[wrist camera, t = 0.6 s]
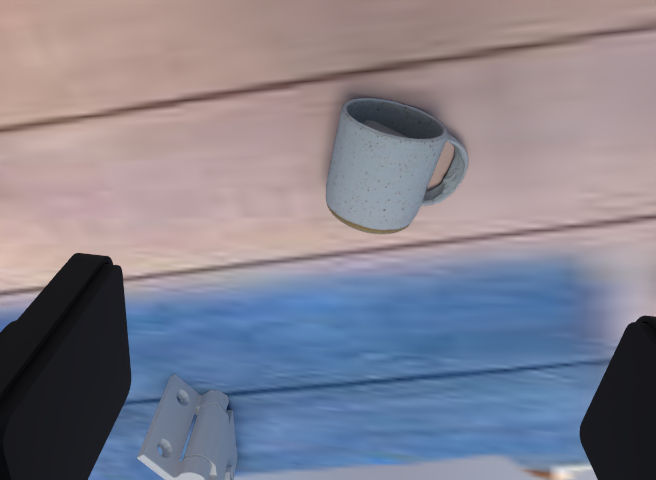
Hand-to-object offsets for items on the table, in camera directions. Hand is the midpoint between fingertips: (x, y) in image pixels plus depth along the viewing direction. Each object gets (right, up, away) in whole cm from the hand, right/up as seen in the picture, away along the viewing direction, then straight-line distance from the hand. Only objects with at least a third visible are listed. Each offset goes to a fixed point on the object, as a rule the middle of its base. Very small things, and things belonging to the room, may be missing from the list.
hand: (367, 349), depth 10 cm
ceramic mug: (+5, +9, +34) cm, 35 cm away
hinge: (-14, -17, +49) cm, 54 cm away
